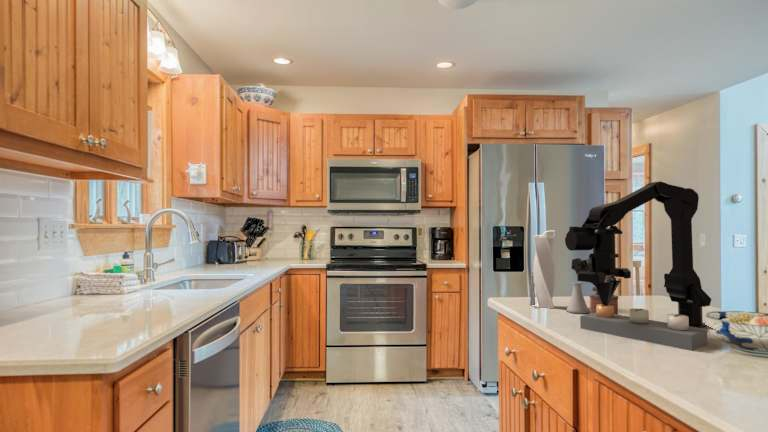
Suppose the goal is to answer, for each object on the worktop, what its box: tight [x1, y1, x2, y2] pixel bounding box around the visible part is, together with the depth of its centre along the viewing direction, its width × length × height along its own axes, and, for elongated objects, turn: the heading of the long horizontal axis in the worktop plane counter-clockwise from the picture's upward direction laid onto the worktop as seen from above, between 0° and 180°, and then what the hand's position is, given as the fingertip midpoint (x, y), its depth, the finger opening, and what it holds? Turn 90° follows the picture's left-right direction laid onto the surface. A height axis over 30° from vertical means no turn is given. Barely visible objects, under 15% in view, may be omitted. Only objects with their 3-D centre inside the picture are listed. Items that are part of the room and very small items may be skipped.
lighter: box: [589, 286, 619, 315], centre depth 132 cm, size 8×3×10 cm, turn 58°
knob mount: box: [579, 312, 709, 351], centre depth 112 cm, size 10×27×4 cm, turn 35°
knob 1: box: [596, 304, 614, 318], centre depth 119 cm, size 4×4×7 cm
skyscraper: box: [529, 229, 557, 310], centre depth 152 cm, size 8×8×28 cm
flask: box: [566, 281, 590, 314], centre depth 143 cm, size 7×7×10 cm
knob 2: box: [666, 313, 689, 330], centre depth 105 cm, size 4×4×7 cm
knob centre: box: [628, 308, 650, 323], centre depth 112 cm, size 4×4×7 cm
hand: (605, 305), depth 119 cm, fingers closed, pressing on knob 1
